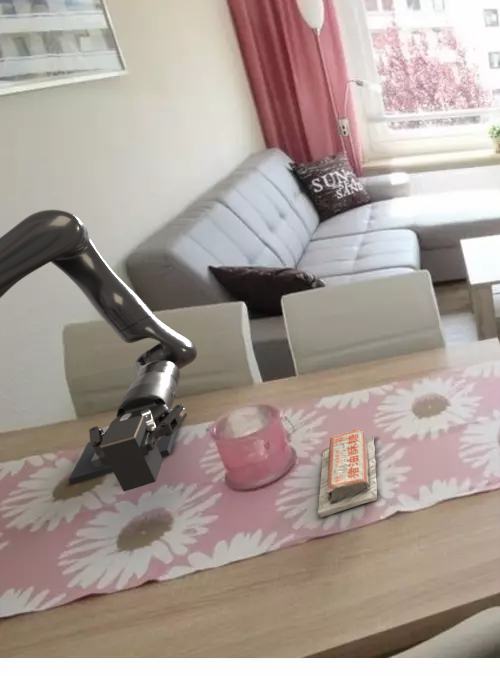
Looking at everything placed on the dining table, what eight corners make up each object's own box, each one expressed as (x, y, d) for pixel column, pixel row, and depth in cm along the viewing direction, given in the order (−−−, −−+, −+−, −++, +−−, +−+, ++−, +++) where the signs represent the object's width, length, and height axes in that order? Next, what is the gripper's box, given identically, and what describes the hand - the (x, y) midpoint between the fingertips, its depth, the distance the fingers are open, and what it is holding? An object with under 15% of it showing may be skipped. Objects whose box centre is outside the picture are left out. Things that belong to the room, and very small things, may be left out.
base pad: (72, 484, 106) (64, 471, 105) (90, 447, 116) (84, 435, 115) (169, 455, 113) (164, 442, 112) (179, 422, 123) (174, 410, 121)
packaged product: (318, 436, 110) (370, 422, 113) (324, 454, 111) (374, 440, 115) (312, 500, 94) (372, 481, 98) (319, 520, 96) (378, 501, 100)
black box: (123, 492, 89) (99, 445, 85) (132, 468, 94) (110, 423, 90) (155, 481, 91) (133, 435, 87) (163, 459, 96) (142, 414, 92)
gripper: (93, 395, 97) (59, 454, 83) (187, 371, 103) (170, 423, 89) (109, 427, 100) (79, 490, 86) (200, 403, 106) (185, 458, 92)
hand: (125, 455), depth 88 cm, fingers closed on black box, 4 cm apart
